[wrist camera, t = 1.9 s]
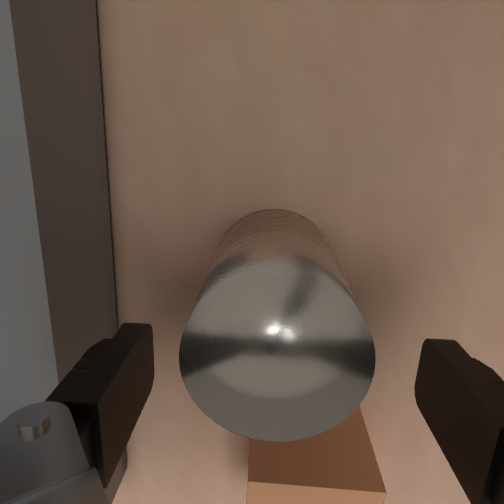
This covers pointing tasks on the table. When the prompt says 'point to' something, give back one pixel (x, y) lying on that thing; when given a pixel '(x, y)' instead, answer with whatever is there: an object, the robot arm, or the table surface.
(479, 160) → the table surface
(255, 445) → the cube
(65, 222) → the tote
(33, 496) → the robot arm
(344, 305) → the cylinder
